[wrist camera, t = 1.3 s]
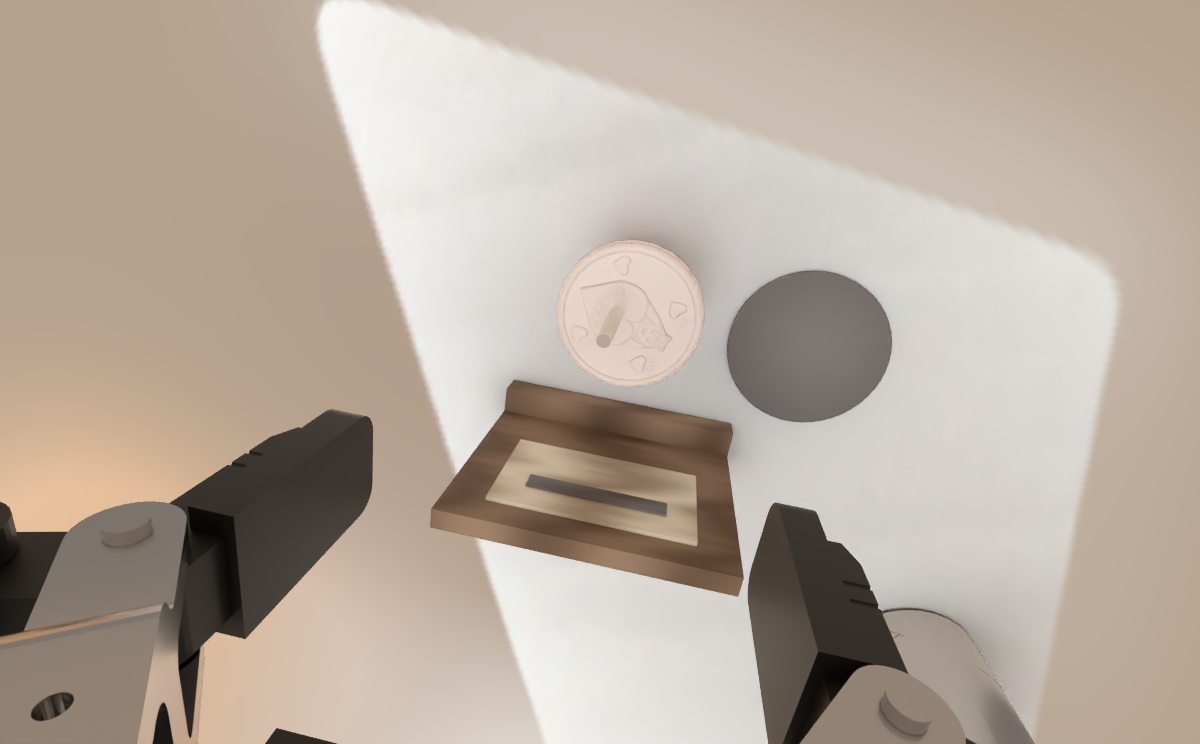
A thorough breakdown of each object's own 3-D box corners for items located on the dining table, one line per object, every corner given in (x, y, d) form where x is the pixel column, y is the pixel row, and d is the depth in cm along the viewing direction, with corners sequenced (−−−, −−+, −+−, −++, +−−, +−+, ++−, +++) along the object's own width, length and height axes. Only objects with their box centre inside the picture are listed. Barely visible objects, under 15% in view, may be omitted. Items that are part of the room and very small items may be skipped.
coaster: (923, 349, 32) (926, 352, 32) (796, 446, 35) (798, 450, 35) (816, 236, 31) (818, 237, 31) (695, 346, 34) (695, 349, 34)
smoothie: (628, 198, 32) (587, 220, 19) (722, 261, 32) (747, 326, 19) (570, 292, 34) (497, 370, 21) (659, 350, 35) (642, 462, 22)
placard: (731, 423, 35) (752, 550, 24) (716, 478, 37) (729, 623, 25) (513, 380, 37) (432, 480, 25) (507, 435, 38) (428, 554, 26)
